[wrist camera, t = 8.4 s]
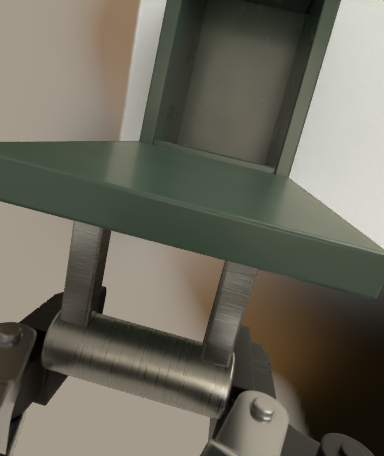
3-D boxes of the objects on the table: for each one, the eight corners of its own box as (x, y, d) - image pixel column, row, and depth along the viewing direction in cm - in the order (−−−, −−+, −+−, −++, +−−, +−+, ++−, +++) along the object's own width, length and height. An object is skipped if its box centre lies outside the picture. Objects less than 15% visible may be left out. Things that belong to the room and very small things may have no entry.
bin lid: (-57, 141, 6) (-66, 400, 7) (396, 256, 5) (291, 509, 7) (136, 140, 17) (117, 243, 18) (290, 178, 16) (259, 280, 18)
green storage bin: (202, -16, 23) (186, -102, 15) (318, 9, 22) (361, -68, 15) (166, 151, 25) (137, 148, 17) (270, 177, 24) (286, 185, 17)
